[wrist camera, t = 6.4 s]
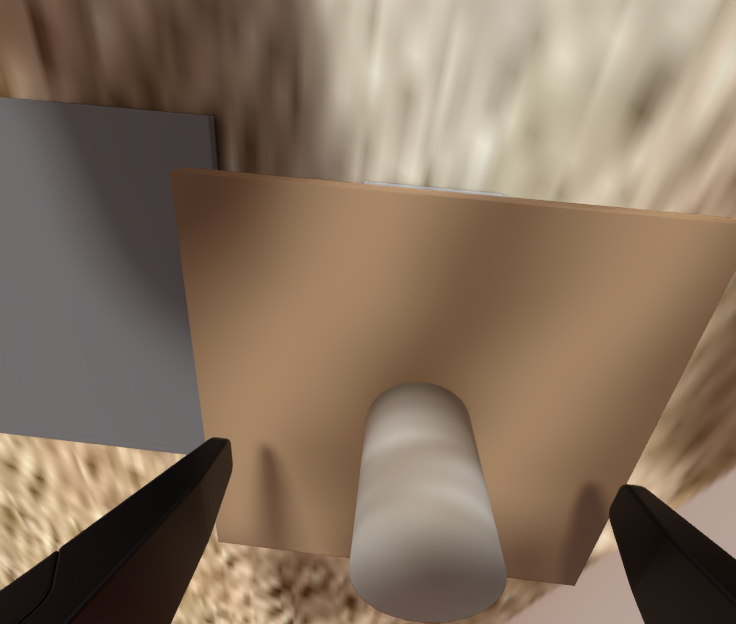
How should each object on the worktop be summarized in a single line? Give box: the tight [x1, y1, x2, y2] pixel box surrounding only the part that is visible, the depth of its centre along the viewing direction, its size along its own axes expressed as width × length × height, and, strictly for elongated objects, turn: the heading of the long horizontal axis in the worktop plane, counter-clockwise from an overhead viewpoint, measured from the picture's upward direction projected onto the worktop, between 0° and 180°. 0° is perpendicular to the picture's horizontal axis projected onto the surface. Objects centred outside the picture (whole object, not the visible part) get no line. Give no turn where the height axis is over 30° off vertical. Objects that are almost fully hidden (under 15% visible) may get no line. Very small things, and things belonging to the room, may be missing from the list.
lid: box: [170, 167, 736, 623], centre depth 9 cm, size 12×12×5 cm
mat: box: [0, 97, 218, 455], centre depth 15 cm, size 14×14×1 cm
